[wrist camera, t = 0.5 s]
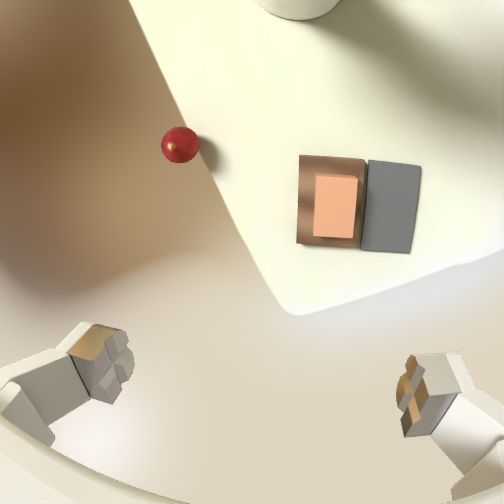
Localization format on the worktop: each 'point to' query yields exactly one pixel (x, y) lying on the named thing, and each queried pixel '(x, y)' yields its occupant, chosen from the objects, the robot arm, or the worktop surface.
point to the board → (307, 194)
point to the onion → (180, 144)
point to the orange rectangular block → (334, 205)
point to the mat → (390, 206)
